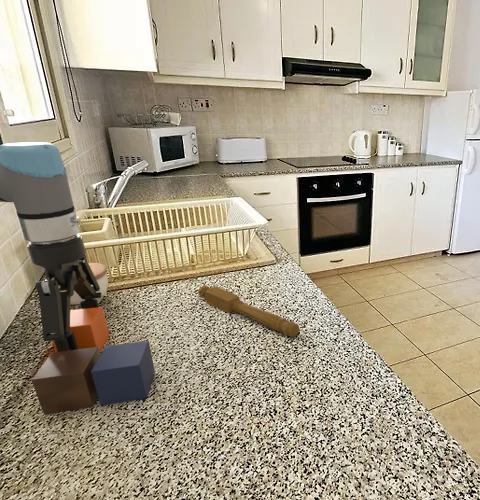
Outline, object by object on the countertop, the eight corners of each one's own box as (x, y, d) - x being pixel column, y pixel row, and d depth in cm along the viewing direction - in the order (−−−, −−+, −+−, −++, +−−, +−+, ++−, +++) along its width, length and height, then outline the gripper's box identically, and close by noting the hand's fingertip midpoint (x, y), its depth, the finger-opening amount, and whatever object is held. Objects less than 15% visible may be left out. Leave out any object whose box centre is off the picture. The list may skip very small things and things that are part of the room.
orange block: (57, 359, 67) (48, 329, 65) (72, 339, 73) (63, 310, 71) (98, 354, 69) (90, 324, 67) (109, 335, 75) (102, 306, 72)
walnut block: (43, 414, 56) (31, 379, 53) (62, 385, 62) (51, 352, 59) (93, 406, 57) (83, 372, 55) (106, 378, 63) (98, 346, 61)
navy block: (100, 405, 58) (90, 371, 55) (113, 377, 63) (105, 345, 61) (146, 398, 59) (139, 364, 57) (155, 371, 65) (148, 340, 63)
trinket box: (46, 307, 84) (34, 269, 80) (92, 288, 93) (83, 253, 90) (78, 318, 80) (67, 279, 77) (123, 296, 89) (115, 260, 86)
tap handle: (290, 327, 73) (194, 286, 88) (290, 341, 74) (196, 298, 90) (300, 321, 76) (205, 282, 91) (300, 333, 77) (207, 293, 92)
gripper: (48, 262, 53) (84, 384, 61) (102, 217, 75) (124, 312, 83) (-16, 267, 52) (30, 392, 60) (59, 219, 73) (85, 316, 81)
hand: (85, 345), depth 71 cm, fingers open, 11 cm apart
